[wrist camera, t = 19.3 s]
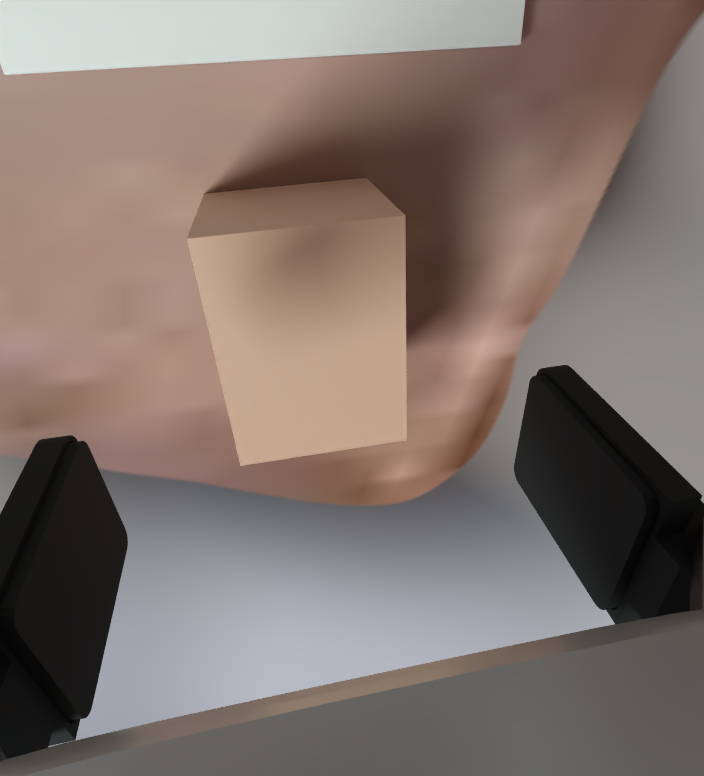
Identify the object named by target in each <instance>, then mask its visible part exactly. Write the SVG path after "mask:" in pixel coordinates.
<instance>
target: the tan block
mask: <svg viewBox="0 0 704 776" xmlns="http://www.w3.org/2000/svg"><path fill="white" fill-rule="evenodd" d="M187 241H188V245H189V250H190V254H191V258H192V262H193V267H194V271H195V275H196V279H197V283H198V288H199V292H200V296H201V300H202V305H203V309H204V313H205V317H206V321H207V326H208V330H209V334H210V338H211V343H212V347H213V351H214V355H215V359H216V364H217V368H218V372H219V376H220V381H221V385H222V389H223V393H224V397H225V402H226V406H227V410H228V414H229V418H230V423H231V427H232V431H233V435H234V440H235V444H236V448H237V452H238V456H239V461H240V465H241V466H242V465H249V464H255V463H262V462H268V461H274V460H281V459H287V458H294V457H300V456H307V455H313V454H320V453H326V452H333V451H339V450H345V449H352V448H358V447H365V446H371V445H378V444H384V443H391V442H397V441H404V440H407V414H406V215H405V214H404V213H402V212H401V211H400V210H399V209H398V208H397V207H396V206H395V205H394V204H393V203H392V202H391V201H390V200H389V199H388V198H387V197H386V196H385V195H384V194H383V193H382V192H380V191H379V190H378V189H377V188H376V187H375V186H374V185H373V184H372V183H371V182H370V181H369V180H368V179H367V178H359V179H349V180H338V181H328V182H318V183H308V184H298V185H287V186H277V187H267V188H257V189H247V190H236V191H226V192H216V193H206V194H204V196H203V198H202V201H201V203H200V206H199V209H198V211H197V214H196V216H195V219H194V222H193V224H192V227H191V230H190V232H189V235H188V237H187Z"/></svg>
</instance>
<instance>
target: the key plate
mask: <svg viewBox="0 0 704 776" xmlns="http://www.w3.org/2000/svg"><path fill="white" fill-rule="evenodd" d="M524 8H525V0H0V64H1V66H2V69H3V72H4V75H12V74H32V73H50V72H67V71H84V70H101V69H119V68H136V67H153V66H170V65H188V64H205V63H222V62H239V61H257V60H274V59H291V58H308V57H326V56H343V55H360V54H377V53H395V52H412V51H429V50H446V49H464V48H481V47H498V46H513V45H521V36H522V26H523V17H524Z"/></svg>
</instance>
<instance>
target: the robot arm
mask: <svg viewBox="0 0 704 776" xmlns="http://www.w3.org/2000/svg"><path fill="white" fill-rule="evenodd" d="M514 472H515V476H516V479H517V481H518V483H519V485H520V486H521V488H522V489H523V491H524V492H525V494H526V495H527V497H528V499H529V500H530V502H531V504H532V505H533V507H534V508H535V510H536V511H537V513H538V515H539V516H540V518H541V519H542V521H543V522H544V524H545V526H546V527H547V529H548V530H549V532H550V533H551V535H552V537H553V538H554V540H555V541H556V543H557V545H559V548H560V549H561V551H562V552H563V554H564V556H565V557H566V559H567V560H568V562H569V563H570V565H571V567H572V568H573V570H574V571H575V573H576V574H577V576H578V578H579V579H580V581H581V582H582V584H583V585H584V587H585V589H586V590H587V592H588V593H589V595H590V597H591V598H592V600H593V601H594V602H595V604H596V605H597V606H598V607H599V608H600V609H602V610H607V612H608V613H609V615H610V616H611V618H612V619H613V621H614V623H615V625H610V626H604V627H599V628H594V629H589V630H584V631H580V632H575V633H570V634H565V635H560V636H556V637H551V638H546V639H541V640H536V641H531V642H526V643H522V644H517V645H512V646H507V647H503V648H497V649H493V650H488V651H483V652H478V653H473V654H468V655H464V656H459V657H454V658H450V659H445V660H440V661H435V662H431V663H426V664H421V665H417V666H412V667H407V668H402V669H398V670H393V671H388V672H383V673H379V674H374V675H369V676H365V677H360V678H356V679H351V680H346V681H341V682H337V683H332V684H327V685H323V686H318V687H313V688H309V689H304V690H299V691H295V692H290V693H285V694H281V695H276V696H272V697H267V698H262V699H258V700H253V701H249V702H244V703H240V704H235V705H230V706H226V707H221V708H217V709H212V710H207V711H203V712H198V713H194V714H189V715H184V716H180V717H175V718H171V719H167V720H162V721H157V722H153V723H149V724H145V725H141V726H136V727H132V728H128V729H123V730H119V731H115V732H111V733H106V734H102V735H98V736H94V737H89V738H85V739H81V740H77V741H74V740H75V739H76V735H77V730H78V726H79V722H80V719H83V718H86V717H87V716H88V715H89V713H90V711H91V708H92V704H93V699H94V695H95V690H96V686H97V682H98V677H99V673H100V668H101V664H102V659H103V654H104V650H105V646H106V641H107V637H108V632H109V628H110V623H111V619H112V614H113V610H114V605H115V601H116V596H117V592H118V587H119V582H120V578H121V573H122V569H123V565H124V560H125V555H126V551H127V546H128V545H127V544H128V541H127V533H126V530H125V527H124V525H123V523H122V521H121V518H120V516H119V514H118V512H117V509H116V507H115V505H114V503H113V500H112V498H111V496H110V494H109V492H108V489H107V487H106V485H105V482H104V480H103V478H102V476H101V473H100V471H99V469H98V467H97V465H96V462H95V460H94V458H93V456H92V453H91V451H90V449H89V447H88V445H87V443H86V442H85V441H79V442H78V441H77V439H76V438H75V437H74V436H71V435H69V436H62V437H55V438H48V439H42V440H39V441H38V442H37V444H36V445H35V447H34V449H33V451H32V453H31V455H30V457H29V459H28V461H27V463H26V465H25V467H24V469H23V471H22V473H21V475H20V477H19V478H18V480H17V482H16V484H15V486H14V488H13V490H12V492H11V494H10V496H9V498H8V500H7V502H6V504H5V506H4V508H3V510H2V512H1V514H0V776H704V503H702V501H701V500H700V499H701V497H702V495H701V494H700V493H699V492H698V491H697V490H696V489H695V488H694V487H692V485H690V483H689V482H688V481H687V480H685V478H684V477H682V476H681V475H680V474H679V473H678V472H677V471H676V470H675V469H674V468H673V467H672V466H671V465H670V464H669V463H668V462H667V461H666V460H665V459H664V458H663V457H662V456H661V455H660V454H659V453H658V452H657V451H656V450H655V449H654V448H653V447H652V446H651V445H650V444H649V443H647V441H646V440H645V439H644V438H643V437H641V436H640V435H639V434H638V433H637V432H636V431H635V430H634V429H633V428H632V427H631V426H630V425H629V424H628V423H627V422H626V421H625V420H624V419H623V418H622V417H621V416H620V415H619V414H618V413H617V412H616V411H615V410H614V409H613V408H612V407H611V406H610V405H609V404H608V403H607V402H606V401H605V400H604V399H602V397H601V396H600V395H599V394H598V393H597V392H596V391H594V390H593V389H592V388H591V387H590V386H589V385H588V384H587V383H586V382H585V381H584V380H583V379H582V378H581V377H580V376H579V375H578V374H577V373H576V372H575V371H574V370H573V369H572V368H571V367H569V366H568V365H561V366H554V367H547V368H542V369H540V370H539V371H538V372H537V375H536V376H533V377H532V378H531V379H530V383H529V388H528V393H527V399H526V404H525V410H524V415H523V420H522V426H521V431H520V437H519V442H518V447H517V453H516V459H515V464H514ZM641 619H642V620H641ZM69 741H72V742H69ZM64 742H68V743H64ZM59 743H64V744H59ZM54 744H59V745H56V746H52V747H49V748H48V746H50V745H54Z"/></svg>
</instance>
